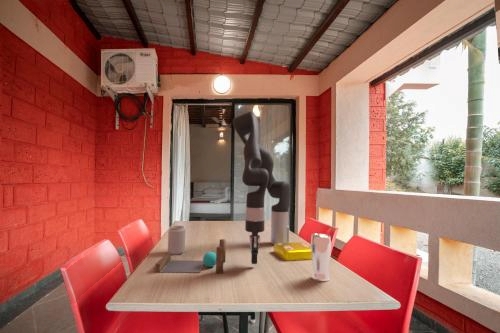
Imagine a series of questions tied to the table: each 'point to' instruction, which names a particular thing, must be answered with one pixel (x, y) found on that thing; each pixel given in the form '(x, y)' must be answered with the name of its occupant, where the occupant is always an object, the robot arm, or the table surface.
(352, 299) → the table surface
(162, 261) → the strip
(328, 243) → the silver metal tumbler
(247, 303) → the table surface
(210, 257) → the ball
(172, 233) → the can
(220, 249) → the post
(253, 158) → the robot arm
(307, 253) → the element tile
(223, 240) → the post
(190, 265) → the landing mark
